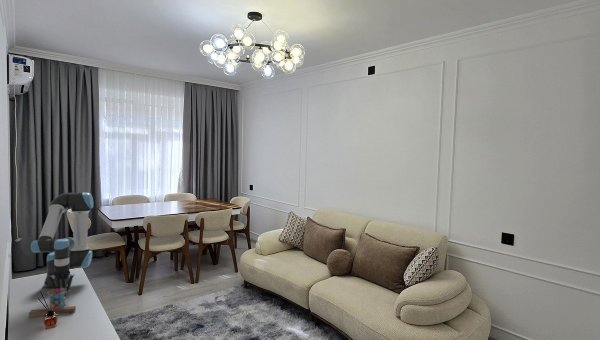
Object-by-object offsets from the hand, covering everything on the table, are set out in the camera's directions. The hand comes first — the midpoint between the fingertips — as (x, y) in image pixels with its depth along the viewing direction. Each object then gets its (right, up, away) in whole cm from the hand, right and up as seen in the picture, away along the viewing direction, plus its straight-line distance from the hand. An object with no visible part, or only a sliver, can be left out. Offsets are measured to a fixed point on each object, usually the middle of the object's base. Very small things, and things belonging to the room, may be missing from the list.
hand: (62, 301), depth 203 cm
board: (+4, -2, -13) cm, 13 cm away
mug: (+2, -2, -4) cm, 5 cm away
